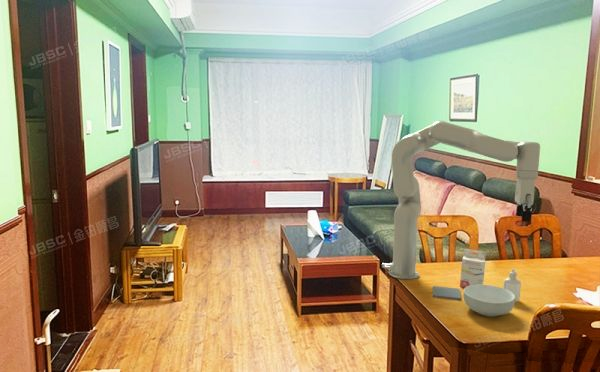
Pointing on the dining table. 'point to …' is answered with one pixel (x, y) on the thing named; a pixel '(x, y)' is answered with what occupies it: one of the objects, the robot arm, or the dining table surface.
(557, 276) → the dining table surface
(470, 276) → the ink cartridge box
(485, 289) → the cereal bowl
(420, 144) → the robot arm
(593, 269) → the dining table surface
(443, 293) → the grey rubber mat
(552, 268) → the dining table surface
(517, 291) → the eye dropper bottle
